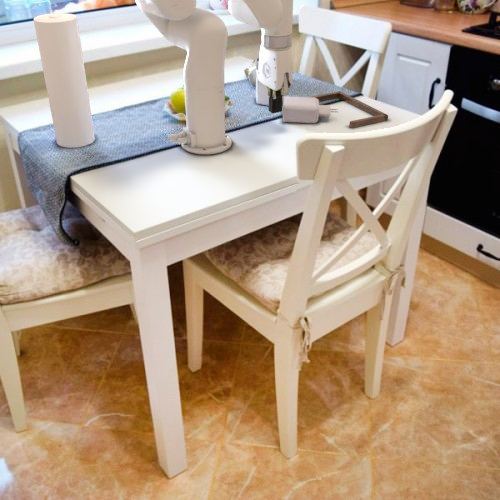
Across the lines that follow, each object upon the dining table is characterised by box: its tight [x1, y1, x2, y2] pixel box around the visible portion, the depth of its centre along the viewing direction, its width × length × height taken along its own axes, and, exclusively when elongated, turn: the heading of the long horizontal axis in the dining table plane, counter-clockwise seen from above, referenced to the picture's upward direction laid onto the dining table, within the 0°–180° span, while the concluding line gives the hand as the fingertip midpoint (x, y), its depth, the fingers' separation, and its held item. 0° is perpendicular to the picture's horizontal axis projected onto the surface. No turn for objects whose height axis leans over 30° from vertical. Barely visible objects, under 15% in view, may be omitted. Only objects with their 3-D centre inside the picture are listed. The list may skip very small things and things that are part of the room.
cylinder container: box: [33, 12, 96, 149], centre depth 141 cm, size 9×9×30 cm
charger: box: [282, 95, 339, 124], centre depth 162 cm, size 5×9×15 cm
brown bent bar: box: [311, 90, 389, 129], centre depth 167 cm, size 12×22×2 cm, turn 29°
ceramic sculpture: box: [243, 56, 259, 88], centre depth 186 cm, size 11×9×15 cm
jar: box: [255, 57, 284, 107], centre depth 171 cm, size 9×8×12 cm
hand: (275, 111), depth 156 cm, fingers closed
